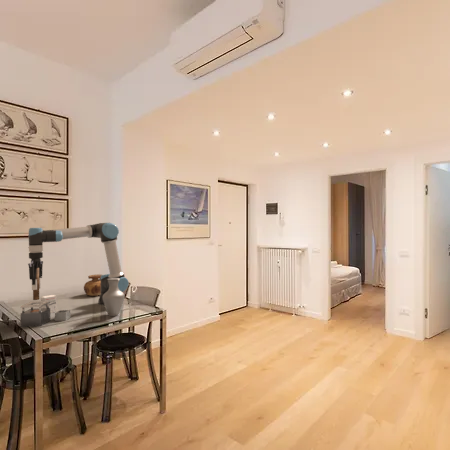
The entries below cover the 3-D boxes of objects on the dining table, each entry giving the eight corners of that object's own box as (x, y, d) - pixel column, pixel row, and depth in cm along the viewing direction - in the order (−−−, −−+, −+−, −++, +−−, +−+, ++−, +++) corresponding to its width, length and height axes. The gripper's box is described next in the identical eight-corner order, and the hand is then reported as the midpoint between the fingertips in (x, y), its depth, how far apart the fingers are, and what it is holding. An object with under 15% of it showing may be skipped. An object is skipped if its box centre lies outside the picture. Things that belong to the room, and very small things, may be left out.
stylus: (40, 298, 201) (40, 267, 201) (37, 300, 198) (37, 268, 198) (34, 298, 201) (34, 267, 201) (31, 300, 197) (31, 268, 197)
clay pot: (94, 295, 267) (88, 272, 271) (82, 301, 276) (76, 279, 280) (113, 291, 283) (107, 269, 287) (101, 296, 292) (95, 276, 297)
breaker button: (40, 317, 201) (40, 309, 201) (37, 319, 197) (37, 311, 197) (34, 317, 201) (34, 309, 201) (30, 319, 197) (30, 311, 197)
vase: (97, 316, 213) (97, 279, 213) (112, 311, 226) (112, 276, 227) (115, 318, 208) (114, 280, 208) (129, 313, 221) (128, 277, 221)
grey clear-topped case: (50, 320, 205) (50, 301, 205) (40, 326, 193) (40, 305, 193) (31, 320, 204) (31, 301, 205) (20, 326, 193) (20, 306, 193)
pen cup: (70, 317, 212) (70, 309, 212) (65, 320, 205) (65, 312, 205) (59, 317, 211) (59, 310, 211) (54, 320, 204) (54, 313, 204)
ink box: (44, 314, 219) (44, 297, 219) (40, 313, 221) (40, 296, 221) (56, 311, 226) (56, 295, 226) (52, 310, 229) (52, 294, 229)
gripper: (36, 251, 207) (36, 286, 207) (22, 253, 191) (22, 291, 191) (48, 250, 208) (48, 286, 208) (35, 253, 191) (35, 291, 191)
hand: (36, 289), depth 199 cm, fingers closed on stylus, 3 cm apart
